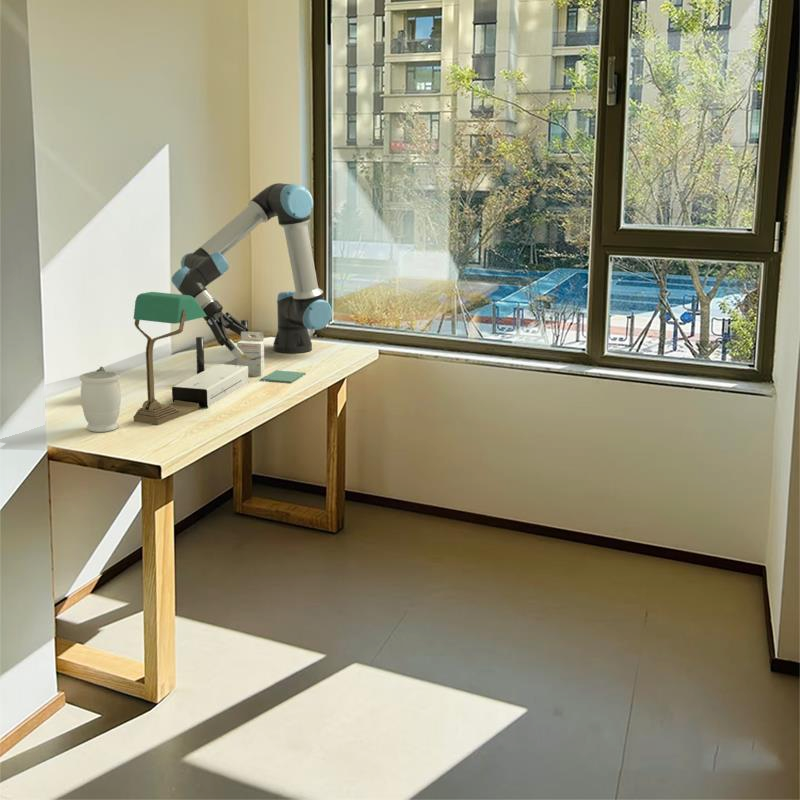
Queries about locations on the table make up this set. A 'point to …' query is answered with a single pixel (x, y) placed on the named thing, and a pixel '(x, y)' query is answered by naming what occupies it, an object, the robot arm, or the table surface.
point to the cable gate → (201, 351)
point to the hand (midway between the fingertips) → (248, 352)
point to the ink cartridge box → (252, 353)
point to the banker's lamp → (165, 311)
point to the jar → (100, 400)
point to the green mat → (283, 376)
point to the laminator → (211, 384)
